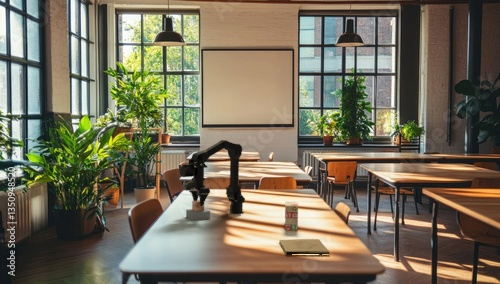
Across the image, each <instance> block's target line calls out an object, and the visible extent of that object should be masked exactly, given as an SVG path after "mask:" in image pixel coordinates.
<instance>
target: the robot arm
mask: <svg viewBox="0 0 500 284" xmlns="http://www.w3.org/2000/svg"><path fill="white" fill-rule="evenodd" d="M222 150H226V151H227V154H228V157H229V159H230V161H229V171H230V172H229V185H228V186H226V188H225V191H226V192H225V195H226V197H227V198H228V199H227V200H228V202H230V204H229V211H228V212H229V213H231V214H243V213H244V211H243V210H244V209H243V207H244V206H243V204H244V203H245V201H246V198H245V197H244V196H243V195H242V189H241V187H240V184H239V181H240V180H239V173H240V159H241V156H242V155H243V153H242V152H243V146H242V145H241V144H240V143H235V142H231V141H228V140H227V139H226V140H224V139H221V140H219V141H218V142H217V143H214V144H212V145H211V146H209V147H208V148H206V149H204V150H200V151H197V152H194V153H193V154H192V155H191V158H190V160H189V161H188V163H187V164H186V163H184V164H183V163H182V165H181V167H180V169H179V175H180V177H182V178H189V177H190V178H191V180H190V181H187V182H185V183H183V184H182V187H183V189H184V191H186V192H187V191H188V192H189V193H190V194H191V197H192V201H197V200H198V198H199V200H200V206H203V204H204V205H205V202H206V200H207V198H208V196H209V195H210V194H211V189H210V188H209V187H207V186H206V185H205V181H206V177H205V168H206V169H207V168H208V165H206V162H207V161H208V160H209V158H211V157H212V156H214V155H215V154H217V153H219V152H220V151H222Z"/></svg>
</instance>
